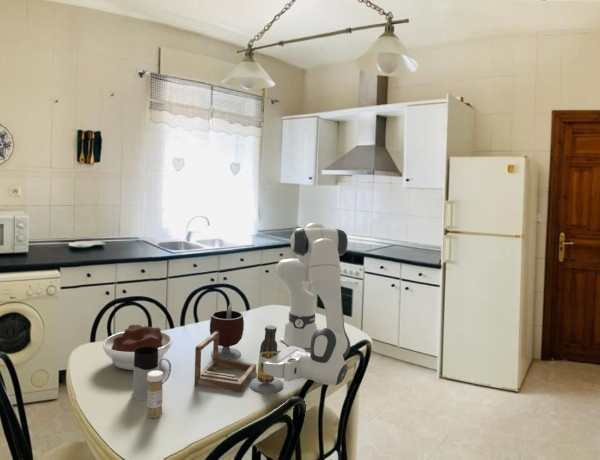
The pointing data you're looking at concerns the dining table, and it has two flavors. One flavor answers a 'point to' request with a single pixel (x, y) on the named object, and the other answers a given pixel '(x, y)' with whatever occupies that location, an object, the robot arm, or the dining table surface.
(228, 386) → the walnut rack
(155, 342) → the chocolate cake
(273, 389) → the slate mat
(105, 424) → the dining table surface
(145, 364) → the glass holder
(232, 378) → the birch offcuts
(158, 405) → the sprinkles bottle
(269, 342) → the sauce bottle
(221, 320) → the mate gourd
